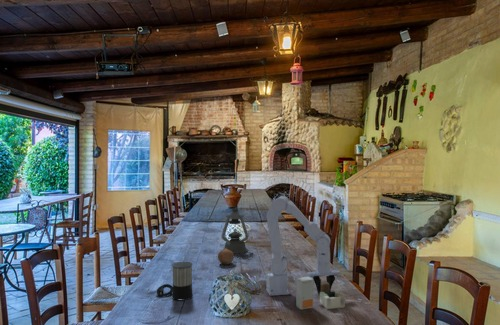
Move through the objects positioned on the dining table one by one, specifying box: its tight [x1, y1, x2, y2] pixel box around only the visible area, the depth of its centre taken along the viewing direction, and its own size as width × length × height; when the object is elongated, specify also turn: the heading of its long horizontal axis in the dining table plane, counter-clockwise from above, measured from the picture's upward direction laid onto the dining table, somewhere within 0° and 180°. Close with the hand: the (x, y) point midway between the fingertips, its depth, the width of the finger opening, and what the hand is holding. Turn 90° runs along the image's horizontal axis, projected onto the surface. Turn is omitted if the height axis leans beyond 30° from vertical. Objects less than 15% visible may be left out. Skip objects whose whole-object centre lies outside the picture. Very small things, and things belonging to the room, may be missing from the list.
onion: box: [217, 247, 235, 266], centre depth 224 cm, size 10×9×10 cm
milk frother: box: [155, 261, 194, 300], centre depth 173 cm, size 14×16×15 cm
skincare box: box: [295, 276, 315, 310], centre depth 159 cm, size 6×4×12 cm
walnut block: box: [317, 280, 330, 298], centre depth 171 cm, size 4×4×6 cm
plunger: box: [323, 290, 336, 298], centre depth 164 cm, size 7×4×4 cm, turn 10°
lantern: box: [221, 207, 249, 255], centre depth 257 cm, size 18×20×30 cm
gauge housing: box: [319, 290, 346, 310], centre depth 162 cm, size 8×8×4 cm
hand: (323, 292), depth 171 cm, fingers closed on walnut block, 4 cm apart
